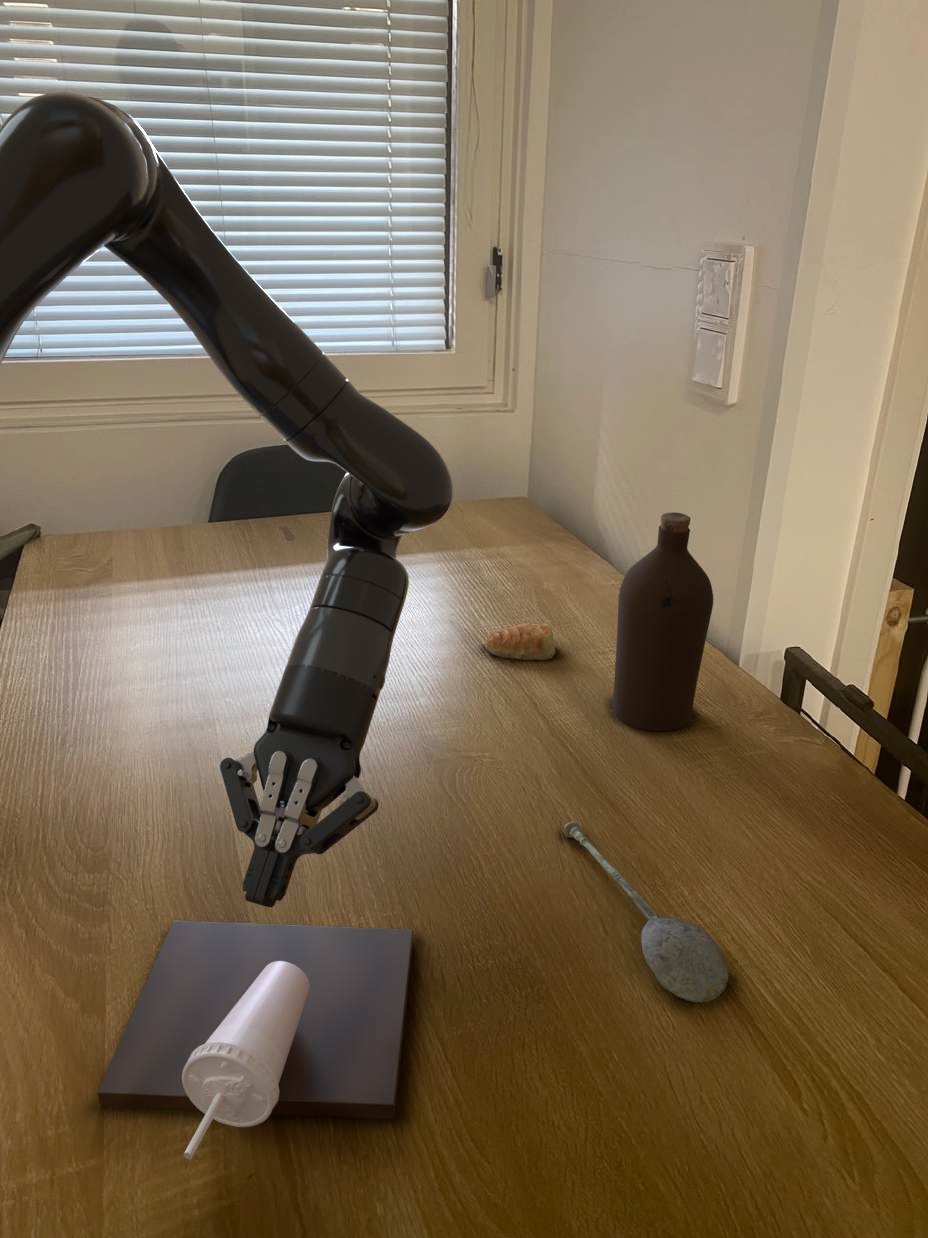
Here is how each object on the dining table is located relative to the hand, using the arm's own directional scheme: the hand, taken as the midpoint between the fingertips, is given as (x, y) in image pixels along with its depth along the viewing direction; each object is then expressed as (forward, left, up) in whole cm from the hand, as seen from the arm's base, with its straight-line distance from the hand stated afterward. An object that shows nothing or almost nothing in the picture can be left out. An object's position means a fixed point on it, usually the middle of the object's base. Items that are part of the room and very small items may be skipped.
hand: (259, 904), depth 65 cm
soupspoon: (+29, +12, -10) cm, 34 cm away
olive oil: (+36, +46, -10) cm, 60 cm away
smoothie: (+2, -1, -6) cm, 7 cm away
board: (0, -1, -10) cm, 10 cm away
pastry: (+21, +61, -10) cm, 66 cm away
